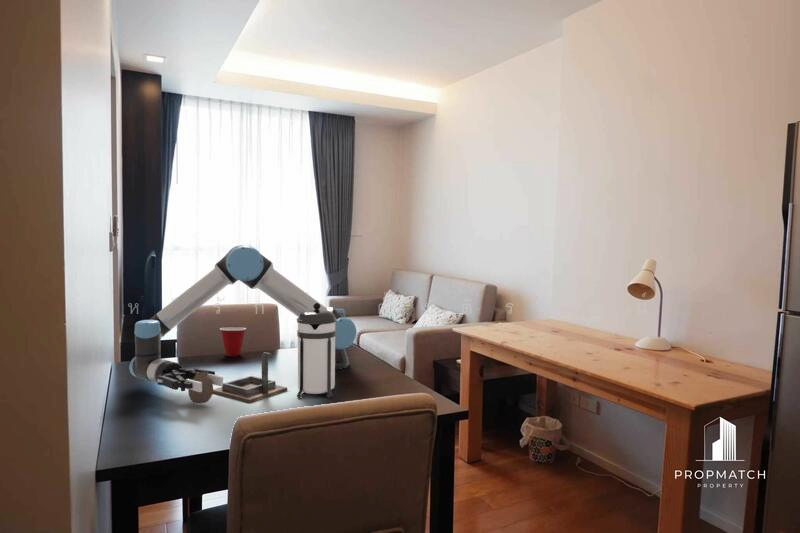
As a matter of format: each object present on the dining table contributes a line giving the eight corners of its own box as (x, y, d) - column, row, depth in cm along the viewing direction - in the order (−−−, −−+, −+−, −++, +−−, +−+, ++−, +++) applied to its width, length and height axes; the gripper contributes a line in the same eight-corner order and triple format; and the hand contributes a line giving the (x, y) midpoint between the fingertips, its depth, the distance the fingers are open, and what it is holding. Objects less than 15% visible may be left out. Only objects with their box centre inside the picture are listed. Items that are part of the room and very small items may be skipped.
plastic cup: (250, 352, 226) (250, 325, 225) (240, 358, 215) (240, 330, 215) (226, 351, 227) (226, 325, 226) (215, 357, 216) (215, 329, 216)
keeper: (250, 381, 180) (250, 342, 180) (288, 390, 170) (288, 349, 170) (212, 392, 167) (212, 350, 166) (250, 403, 157) (250, 358, 156)
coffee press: (350, 393, 169) (351, 303, 167) (310, 403, 157) (311, 307, 156) (319, 382, 181) (320, 298, 179) (280, 391, 169) (280, 301, 168)
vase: (192, 398, 157) (192, 370, 156) (215, 397, 157) (215, 369, 157) (185, 405, 150) (184, 376, 149) (209, 405, 150) (209, 375, 150)
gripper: (192, 377, 171) (238, 388, 159) (136, 391, 155) (181, 405, 142) (192, 355, 171) (238, 365, 158) (135, 367, 155) (181, 379, 142)
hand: (211, 384), depth 150 cm, fingers closed on vase, 6 cm apart
